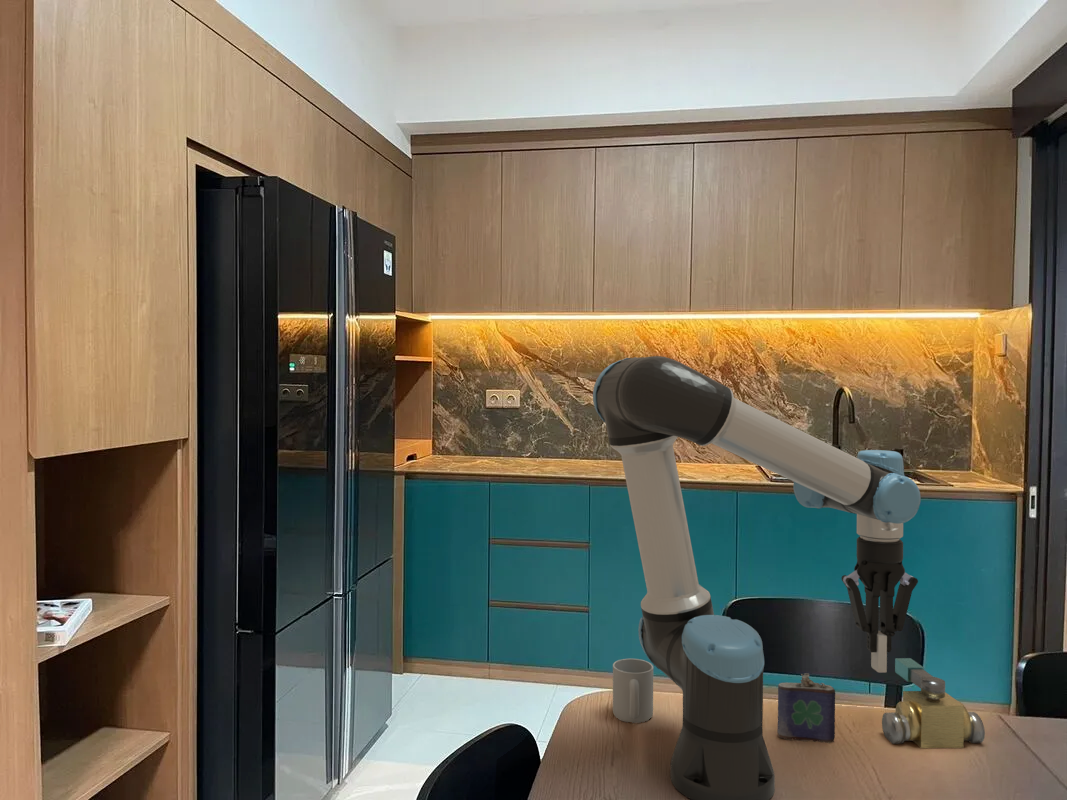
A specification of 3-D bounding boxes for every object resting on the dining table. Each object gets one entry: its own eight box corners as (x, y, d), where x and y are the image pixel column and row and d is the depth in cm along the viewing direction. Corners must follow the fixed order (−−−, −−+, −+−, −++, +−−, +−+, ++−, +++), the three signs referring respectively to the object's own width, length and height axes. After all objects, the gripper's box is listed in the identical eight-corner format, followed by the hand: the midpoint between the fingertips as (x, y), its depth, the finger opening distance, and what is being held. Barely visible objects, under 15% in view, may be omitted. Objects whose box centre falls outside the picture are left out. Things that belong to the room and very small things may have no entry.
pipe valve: (897, 750, 124) (898, 703, 124) (880, 733, 130) (880, 688, 130) (986, 750, 125) (987, 703, 125) (965, 733, 131) (966, 688, 131)
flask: (778, 739, 128) (779, 676, 127) (776, 731, 130) (776, 669, 130) (836, 744, 126) (837, 680, 126) (832, 736, 129) (833, 673, 129)
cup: (651, 707, 140) (651, 659, 140) (655, 731, 130) (656, 680, 130) (612, 705, 141) (612, 658, 141) (613, 730, 131) (613, 678, 131)
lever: (949, 699, 126) (949, 684, 126) (927, 699, 126) (928, 684, 125) (912, 671, 137) (912, 658, 137) (892, 672, 137) (893, 658, 137)
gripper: (852, 542, 131) (851, 678, 131) (927, 541, 131) (926, 677, 132) (834, 533, 138) (833, 662, 139) (905, 533, 139) (904, 661, 139)
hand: (878, 669), depth 135 cm, fingers closed
